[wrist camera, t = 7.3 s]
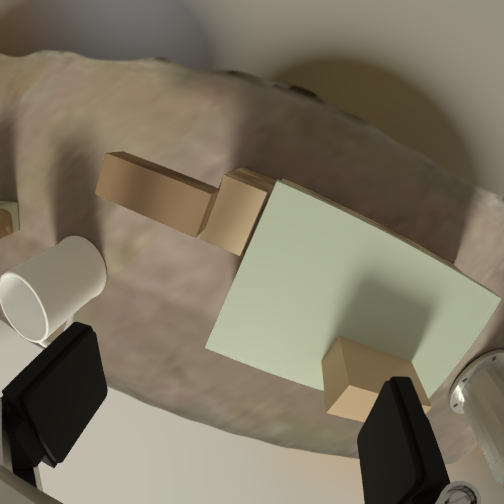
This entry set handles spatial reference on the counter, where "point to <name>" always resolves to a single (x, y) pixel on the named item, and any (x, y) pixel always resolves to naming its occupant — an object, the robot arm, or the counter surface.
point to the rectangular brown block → (156, 192)
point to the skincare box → (8, 218)
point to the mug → (52, 287)
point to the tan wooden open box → (254, 211)
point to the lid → (346, 305)
